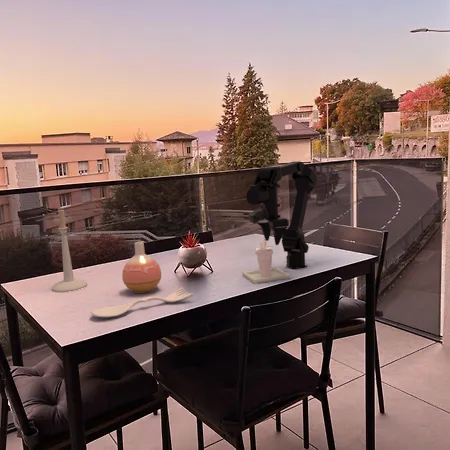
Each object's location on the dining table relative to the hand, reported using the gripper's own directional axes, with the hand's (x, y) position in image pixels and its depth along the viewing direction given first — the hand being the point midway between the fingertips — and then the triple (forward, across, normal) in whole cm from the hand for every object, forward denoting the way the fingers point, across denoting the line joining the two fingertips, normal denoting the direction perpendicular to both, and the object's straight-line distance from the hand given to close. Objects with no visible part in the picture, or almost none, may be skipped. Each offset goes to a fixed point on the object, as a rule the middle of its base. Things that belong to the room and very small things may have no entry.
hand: (271, 242), depth 173 cm
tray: (+13, 0, -3) cm, 13 cm away
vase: (+13, -5, -48) cm, 50 cm away
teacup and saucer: (+14, -44, +13) cm, 48 cm away
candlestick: (+13, -24, -74) cm, 78 cm away
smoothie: (+12, 0, -3) cm, 13 cm away
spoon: (+13, +14, -51) cm, 55 cm away
